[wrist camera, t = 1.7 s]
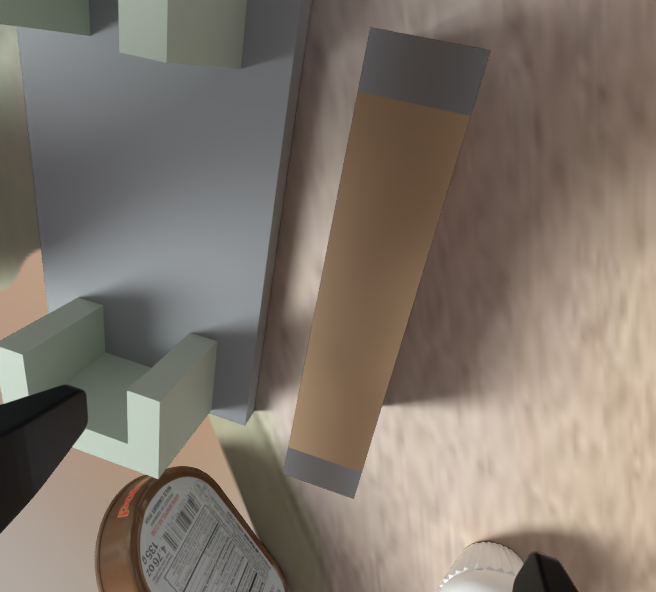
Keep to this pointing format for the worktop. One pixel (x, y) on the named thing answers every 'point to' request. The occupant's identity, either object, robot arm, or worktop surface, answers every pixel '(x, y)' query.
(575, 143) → the worktop surface
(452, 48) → the rail
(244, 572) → the tin
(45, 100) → the post frame
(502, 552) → the muffin
